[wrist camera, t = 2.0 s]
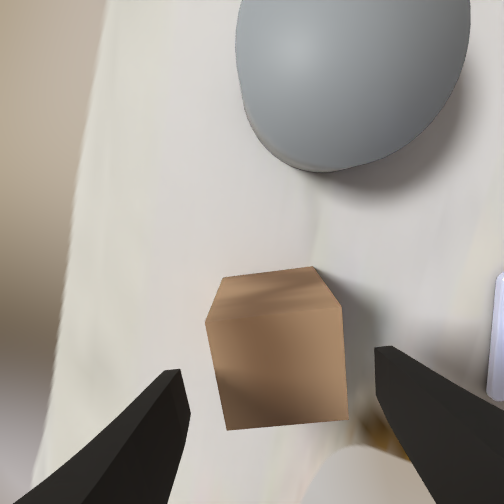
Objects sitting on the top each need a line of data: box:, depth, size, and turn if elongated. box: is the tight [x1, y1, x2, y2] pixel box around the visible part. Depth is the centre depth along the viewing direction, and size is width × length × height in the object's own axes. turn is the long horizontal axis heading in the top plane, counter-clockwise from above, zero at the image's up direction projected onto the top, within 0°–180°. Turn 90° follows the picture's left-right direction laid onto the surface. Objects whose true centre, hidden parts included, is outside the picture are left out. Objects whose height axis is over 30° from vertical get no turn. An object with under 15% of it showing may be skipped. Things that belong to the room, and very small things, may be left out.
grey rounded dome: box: [235, 0, 471, 173], centre depth 10 cm, size 8×8×3 cm
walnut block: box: [205, 266, 349, 431], centre depth 12 cm, size 5×5×5 cm
